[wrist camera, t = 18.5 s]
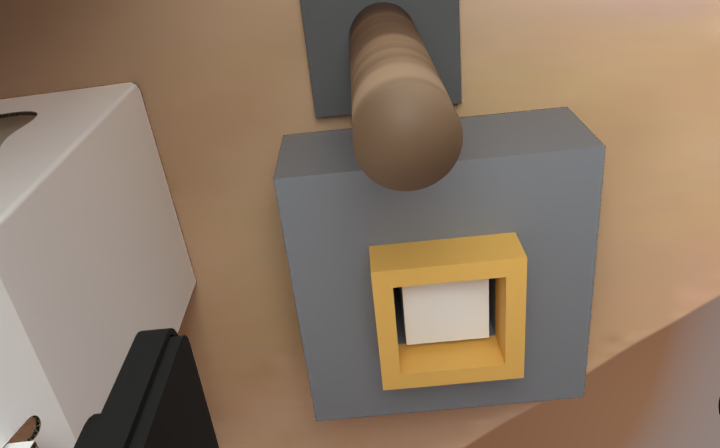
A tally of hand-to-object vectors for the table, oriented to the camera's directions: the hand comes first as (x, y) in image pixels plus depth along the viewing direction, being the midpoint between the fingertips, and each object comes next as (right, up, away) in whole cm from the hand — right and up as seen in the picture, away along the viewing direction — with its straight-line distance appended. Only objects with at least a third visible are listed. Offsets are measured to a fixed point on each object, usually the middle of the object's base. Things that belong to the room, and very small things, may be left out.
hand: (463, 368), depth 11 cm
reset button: (+3, +1, +29) cm, 29 cm away
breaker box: (+3, +1, +29) cm, 29 cm away
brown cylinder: (-1, +12, +23) cm, 26 cm away
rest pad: (-1, +12, +23) cm, 26 cm away
